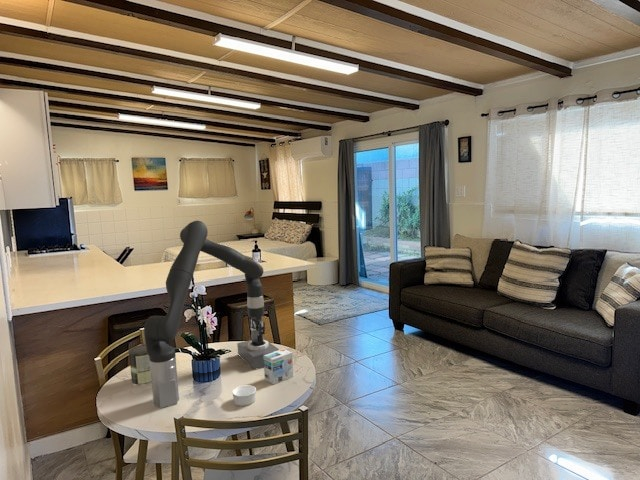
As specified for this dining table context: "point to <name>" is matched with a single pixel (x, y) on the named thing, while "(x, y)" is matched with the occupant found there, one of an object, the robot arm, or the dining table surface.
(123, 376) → the dining table surface
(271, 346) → the camera body
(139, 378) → the coffee can
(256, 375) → the dining table surface
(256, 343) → the lens
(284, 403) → the dining table surface
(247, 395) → the ramekin
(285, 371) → the light bulb box
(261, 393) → the dining table surface
